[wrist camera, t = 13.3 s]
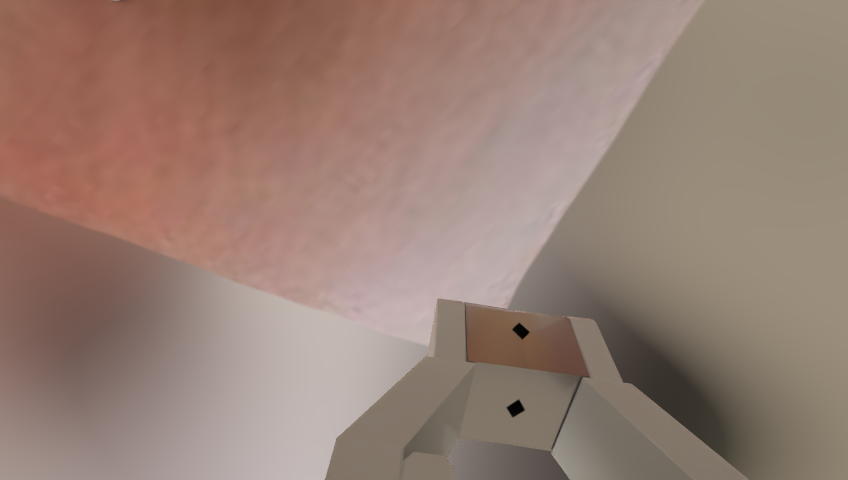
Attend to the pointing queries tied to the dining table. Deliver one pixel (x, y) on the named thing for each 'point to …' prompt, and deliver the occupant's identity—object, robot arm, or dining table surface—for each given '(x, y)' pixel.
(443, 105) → the dining table surface
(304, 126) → the dining table surface
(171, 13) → the dining table surface
